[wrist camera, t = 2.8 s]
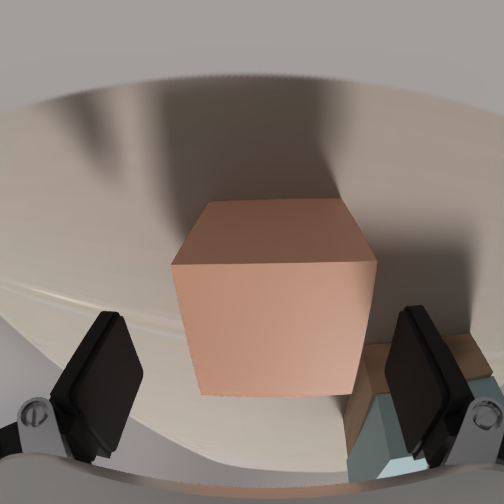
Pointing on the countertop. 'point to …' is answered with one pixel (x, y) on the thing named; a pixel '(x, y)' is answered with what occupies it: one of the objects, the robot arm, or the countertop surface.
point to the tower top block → (395, 438)
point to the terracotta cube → (275, 297)
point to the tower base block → (374, 383)
